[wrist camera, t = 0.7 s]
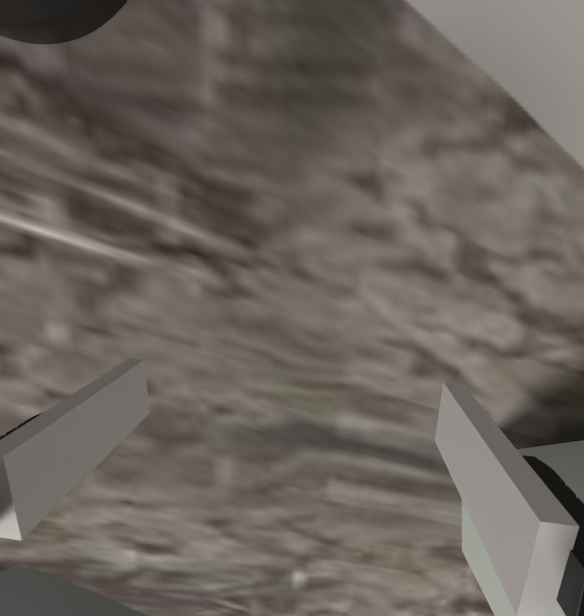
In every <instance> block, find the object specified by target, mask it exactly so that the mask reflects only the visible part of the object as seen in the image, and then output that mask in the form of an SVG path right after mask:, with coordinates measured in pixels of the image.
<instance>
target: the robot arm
mask: <svg viewBox="0 0 584 616" xmlns="http://www.w3.org/2000/svg"><path fill="white" fill-rule="evenodd" d="M125 1H126V0H0V35H2V36H4V37H7V38H10V39H13V40H17V41H22V42H27V43H34V44H56V43H63V42H68V41H71V40H75V39H78V38H80V37H83V36H85V35H87V34H89V33H91V32H93V31H95V30H96V29H98V28H99V27H101V26H102V25H103V24H105V23H106V22H107V21H108V20H109V19H110V18H111V17H112V16H113V15H115V14H116V12H117V11H118V10H119V9H120V8H121V7H122V5H123V4H124V2H125ZM148 414H149V402H148V391H147V380H146V369H145V360H140V359H128V360H126V361H125V362H123V363H121V364H120V365H118V366H117V367H115V368H113V369H112V370H110V371H109V372H107V373H106V374H104V375H102V376H101V377H99V378H98V379H96V380H94V381H93V382H91V383H90V384H88V385H87V386H85V387H83V388H82V389H80V390H79V391H77V392H75V393H74V394H72V395H71V396H69V397H68V398H66V399H64V400H63V401H61V402H60V403H58V404H56V405H55V406H53V407H52V408H50V409H49V410H47V411H45V412H43V413H41V414H38V415H36V416H34V417H32V418H30V419H28V420H27V421H25V422H23V423H22V424H20V425H19V426H18V428H14V429H12V430H11V431H9V432H7V433H6V435H3V436H1V437H0V537H2V538H9V539H15V540H23V539H24V538H25V537H26V536H27V535H28V534H29V533H30V532H31V531H32V530H33V529H34V528H35V527H36V526H37V525H38V524H39V523H40V522H41V521H42V520H43V519H44V518H45V517H46V516H47V515H48V514H49V513H50V512H51V511H52V510H53V509H54V508H55V507H56V506H57V505H58V504H59V503H60V502H61V501H62V500H63V499H64V498H65V497H66V496H67V495H68V494H69V493H70V492H71V491H72V490H73V489H74V488H75V487H76V486H77V485H78V484H79V483H80V482H81V481H82V480H83V479H84V478H85V477H86V476H87V475H88V474H89V473H90V472H91V471H92V470H93V469H94V468H95V467H96V466H97V465H98V464H99V463H100V462H101V461H102V460H103V459H104V458H105V457H106V456H107V455H108V454H109V453H110V452H111V451H112V450H113V449H114V448H115V447H116V446H117V445H118V444H119V443H120V442H121V441H122V440H123V439H124V438H125V437H126V436H127V435H128V434H129V433H130V432H131V431H132V430H133V429H134V428H135V427H136V426H137V425H138V424H139V423H140V422H141V421H142V420H143V419H144V418H145V417H146V416H147V415H148ZM435 442H436V444H437V446H438V449H439V451H440V453H441V455H442V457H443V459H444V461H445V464H446V466H447V468H448V470H449V472H450V474H451V476H452V479H453V481H454V483H455V485H456V487H457V489H458V491H459V494H460V496H461V498H462V500H463V502H464V504H465V507H466V509H467V511H468V513H469V515H470V517H471V519H472V522H473V524H474V526H475V528H476V530H477V532H478V534H479V537H480V539H481V541H482V543H483V545H484V547H485V549H486V552H487V554H488V556H489V558H490V560H491V562H492V564H493V567H494V569H495V571H496V573H497V575H498V577H499V580H500V582H501V584H502V586H503V588H504V590H505V592H506V595H507V597H508V599H509V601H510V603H511V605H512V607H513V610H514V612H515V614H516V616H554V613H555V610H556V606H557V603H559V605H560V607H561V608H562V610H563V612H564V613H565V615H566V616H584V503H583V502H582V501H581V500H580V499H579V498H577V497H576V494H575V493H574V492H573V491H572V490H571V489H570V488H569V486H566V484H565V482H564V481H563V480H562V479H561V478H560V476H559V475H558V474H557V473H556V472H555V471H554V470H553V469H552V468H551V467H549V466H548V465H546V464H545V463H544V462H542V461H541V460H539V459H538V458H536V457H534V456H524V455H521V454H520V453H519V452H518V451H517V449H516V448H515V447H514V446H513V444H512V443H511V442H510V441H509V440H508V438H507V437H506V436H505V435H504V433H503V432H502V431H501V430H500V429H499V427H498V426H497V425H496V424H495V422H494V421H493V420H492V419H491V418H490V416H489V415H488V414H487V413H486V411H485V410H484V409H483V408H482V407H481V405H480V404H479V403H478V402H477V400H476V399H475V398H474V397H473V395H472V394H471V393H470V392H469V391H468V389H467V388H466V387H465V386H464V384H459V383H446V382H443V388H442V395H441V402H440V409H439V416H438V423H437V430H436V437H435Z"/></svg>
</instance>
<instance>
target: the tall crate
mask: <svg viewBox="0 0 584 616" xmlns="http://www.w3.org/2000/svg"><path fill="white" fill-rule="evenodd" d="M517 451H518V452H519V453H520V454H521V455H524V456H534V457H536V458H538V459H539V460H541V461H542V462H544V463H545V464H546V465H548V466H549V467H551V468H552V469H553V470H554V471H555V472H556V473H557V474H558V475H559V476H560V478H561V479H562V480H563V481H564V482H565V484H566V486H569V488H570V489H571V490H572V491H573V492H574V493H575V494H576V497H577V498H579V499H580V500H581V501H582V502H583V503H584V440H582V441H575V442H567V443H560V444H552V445H545V446H537V447H530V448H522V449H517ZM462 552H463V554H464V556H465V558H466V560H467V562H468V564H469V566H470V567H471V569H472V571H473V573H474V575H475V577H476V579H477V581H478V583H479V585H480V587H481V589H482V591H483V593H484V595H485V597H486V599H487V601H488V603H489V605H490V607H491V609H492V611H493V613H494V615H495V616H516V614H515V612H514V610H513V607H512V605H511V603H510V601H509V599H508V597H507V595H506V592H505V590H504V588H503V586H502V584H501V582H500V580H499V577H498V575H497V573H496V571H495V569H494V567H493V564H492V562H491V560H490V558H489V556H488V554H487V552H486V549H485V547H484V545H483V543H482V541H481V539H480V537H479V534H478V532H477V530H476V528H475V526H474V524H473V522H472V519H471V517H470V515H469V513H468V511H467V509H466V507H465V504H464V502H463V500H462ZM554 616H566V615H565V613H564V612H563V610H562V608H561V607H560V605H559V603H557V606H556V610H555V613H554Z"/></svg>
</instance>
